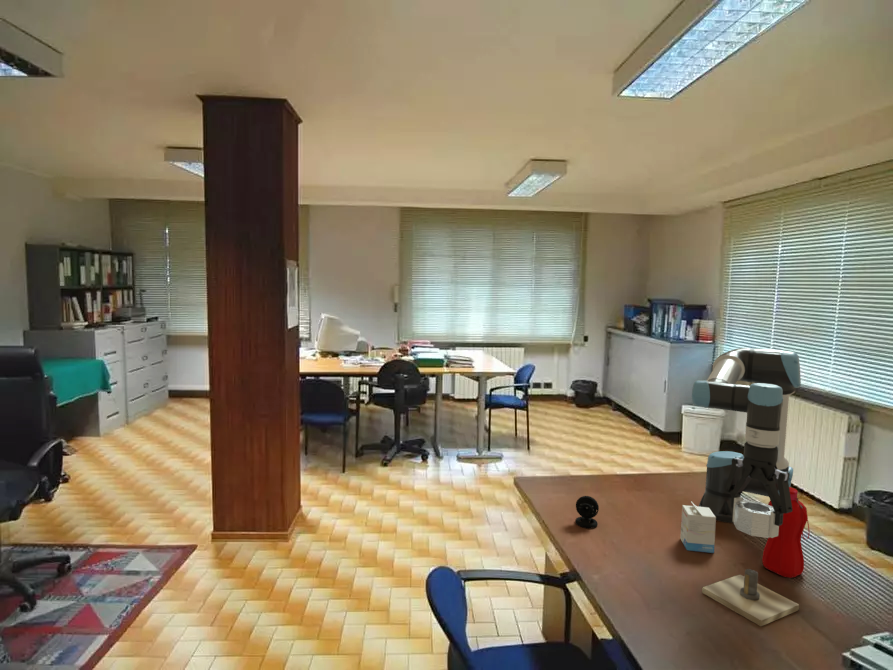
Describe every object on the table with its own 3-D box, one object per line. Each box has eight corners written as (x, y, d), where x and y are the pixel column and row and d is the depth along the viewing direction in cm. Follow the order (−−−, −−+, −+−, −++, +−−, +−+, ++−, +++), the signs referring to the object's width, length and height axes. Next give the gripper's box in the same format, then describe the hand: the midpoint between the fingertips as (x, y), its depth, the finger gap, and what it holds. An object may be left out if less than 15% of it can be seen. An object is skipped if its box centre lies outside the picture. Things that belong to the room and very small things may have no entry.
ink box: (714, 553, 164) (717, 512, 163) (685, 550, 166) (688, 509, 165) (706, 541, 173) (709, 501, 172) (679, 538, 174) (682, 499, 173)
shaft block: (739, 579, 149) (741, 552, 149) (798, 610, 135) (801, 580, 134) (702, 592, 142) (704, 564, 141) (760, 626, 128) (763, 594, 127)
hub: (748, 519, 143) (750, 498, 143) (782, 533, 135) (784, 510, 135) (727, 525, 139) (729, 503, 138) (761, 539, 131) (763, 516, 130)
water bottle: (795, 584, 147) (803, 498, 146) (757, 566, 157) (763, 484, 155) (814, 577, 152) (821, 493, 150) (775, 560, 161) (782, 480, 160)
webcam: (573, 526, 181) (574, 498, 180) (576, 518, 188) (577, 490, 187) (596, 530, 178) (598, 502, 177) (598, 522, 185) (600, 494, 184)
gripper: (713, 434, 143) (707, 514, 145) (797, 457, 124) (789, 549, 126) (730, 432, 147) (725, 510, 148) (815, 454, 127) (807, 543, 129)
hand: (754, 528), depth 137 cm, fingers closed on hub, 9 cm apart
